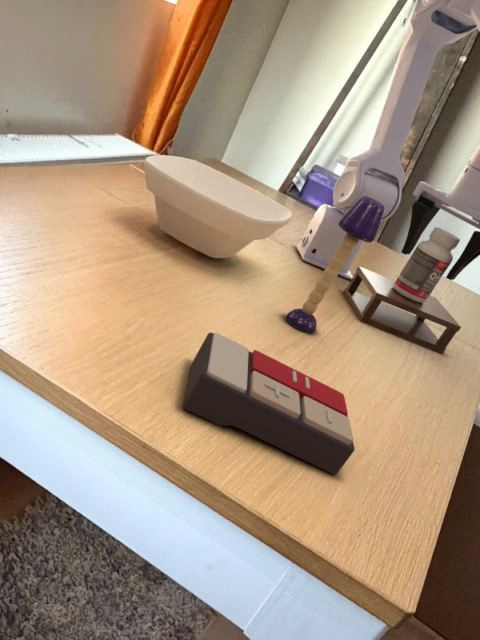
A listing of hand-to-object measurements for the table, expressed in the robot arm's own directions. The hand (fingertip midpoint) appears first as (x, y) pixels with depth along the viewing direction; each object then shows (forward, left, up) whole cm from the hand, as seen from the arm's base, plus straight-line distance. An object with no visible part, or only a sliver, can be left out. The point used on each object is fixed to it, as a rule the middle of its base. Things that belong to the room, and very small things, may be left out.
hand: (427, 265), depth 110 cm
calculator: (-29, -50, -10) cm, 59 cm away
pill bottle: (0, 0, -5) cm, 5 cm away
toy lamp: (-19, -19, -10) cm, 29 cm away
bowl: (-33, -1, -10) cm, 34 cm away
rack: (0, 0, -9) cm, 9 cm away
